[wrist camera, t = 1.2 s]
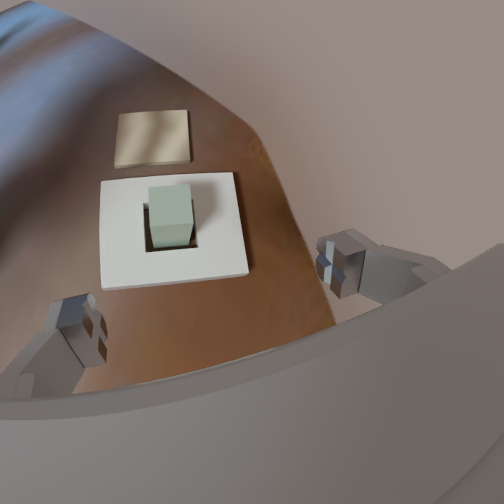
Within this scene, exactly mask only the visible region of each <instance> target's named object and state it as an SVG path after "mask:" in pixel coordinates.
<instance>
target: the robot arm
mask: <svg viewBox="0 0 504 504" xmlns="http://www.w3.org/2000/svg"><path fill="white" fill-rule="evenodd" d="M316 249H317V250H318V251H319V255H318V257H317V258H316V270H317V274H318V275H319V277H320V279H321V280H322V281H323V282H325V283H328V284H330V289H331V290H332V291H333V292H334V294H335V295H336V296H337V297H338V298H339V299H341V298H344V297H347V296H350V295H353V294H356V293H359V294H361V295H363V296H365V297H367V298H370V299H372V300H374V301H376V302H379V303H381V304H383V305H382V306H380V307H378V308H375V309H373V310H371V311H369V312H366V313H364V314H362V315H359V316H357V317H355V318H352V319H350V320H347V321H345V322H342V323H340V324H337V325H335V326H332V327H330V328H327V329H325V330H322V331H319V332H317V333H314V334H311V335H309V336H306V337H303V338H300V339H298V340H295V341H292V342H289V343H286V344H283V345H280V346H277V347H274V348H271V349H268V350H265V351H262V352H259V353H256V354H253V355H250V356H246V357H243V358H240V359H236V360H233V361H230V362H226V363H223V364H219V365H216V366H212V367H208V368H204V369H201V370H197V371H193V372H189V373H185V374H180V375H176V376H172V377H168V378H163V379H159V380H154V381H149V382H144V383H139V384H134V385H129V386H123V387H118V388H112V389H106V390H99V391H93V392H85V393H78V394H72V392H73V390H74V388H75V386H76V384H77V383H78V381H79V379H80V377H81V375H82V374H83V372H84V370H85V369H84V368H88V367H93V366H98V365H102V364H106V356H107V349H106V347H105V345H104V343H105V342H106V340H107V328H106V323H105V320H104V318H103V316H102V314H101V313H100V312H99V311H97V310H96V301H95V299H94V297H93V295H92V294H91V293H87V294H83V295H78V296H74V297H69V298H64V299H60V300H56V301H53V302H52V303H51V306H50V309H49V312H48V315H47V318H46V321H45V324H44V328H43V331H42V332H39V333H38V334H37V335H36V336H35V337H34V338H33V339H32V340H31V341H30V342H29V343H28V344H27V345H26V347H25V348H24V349H23V350H22V351H21V352H20V353H19V354H18V355H17V356H16V358H15V359H14V360H13V361H12V362H11V363H10V364H9V366H8V367H7V368H6V369H5V370H4V371H3V373H2V374H1V375H0V504H504V244H503V243H502V244H501V243H500V244H497V245H495V246H493V247H492V248H490V249H489V250H487V251H485V252H484V253H482V254H480V255H479V256H477V257H475V258H474V259H472V260H470V261H468V262H467V263H465V264H463V265H461V266H460V267H458V268H456V269H454V270H451V269H450V268H448V267H447V266H446V265H444V264H443V263H441V262H440V261H438V260H437V259H435V258H433V257H429V256H424V255H421V254H417V253H413V252H409V251H405V250H400V249H396V248H392V247H388V246H384V245H381V246H378V245H377V244H376V243H374V242H373V241H371V240H370V239H368V238H367V237H365V236H364V235H362V234H361V233H359V232H358V231H356V230H355V229H349V230H346V231H342V232H339V233H335V234H332V235H329V236H325V237H321V238H318V241H317V248H316Z"/></svg>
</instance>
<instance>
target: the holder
mask: <svg viewBox="0 0 504 504" xmlns="http://www.w3.org/2000/svg"><path fill="white" fill-rule="evenodd" d="M187 184H190V193H191V203H192V212H193V221H194V230H195V239H196V247H197V248H189V249H178V250H168V251H157V252H147V253H146V239H145V220H144V209H149V192H148V187H158V186H171V185H187ZM100 268H101V285H102V289H104V290H116V289H127V288H138V287H148V286H158V285H167V284H177V283H186V282H196V281H205V280H214V279H222V278H231V277H239V276H245V275H247V274H248V273H249V270H248V264H247V258H246V252H245V246H244V240H243V234H242V228H241V222H240V216H239V210H238V203H237V197H236V191H235V185H234V179H233V172H232V173H200V174H180V175H164V176H150V177H139V178H128V179H118V180H109V181H101V194H100Z"/></svg>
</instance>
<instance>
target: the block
mask: <svg viewBox="0 0 504 504" xmlns="http://www.w3.org/2000/svg"><path fill="white" fill-rule="evenodd" d="M148 192H149V219H150V230H151V236H152V241H153V247H154V248H164V247H175V246H186V245H189V241H190V236H191V232H192V228H193V213H192V203H191V193H190V184H187V185H171V186H158V187H148Z"/></svg>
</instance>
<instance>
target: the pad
mask: <svg viewBox="0 0 504 504" xmlns="http://www.w3.org/2000/svg"><path fill="white" fill-rule="evenodd" d="M182 163H190V149H189V136H188V120H187V110H170V111H150V112H137V113H126V114H119V120H118V128H117V137H116V148H115V160H114V167H115V169H118V168H127V167H138V166H151V165H165V164H182Z"/></svg>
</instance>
